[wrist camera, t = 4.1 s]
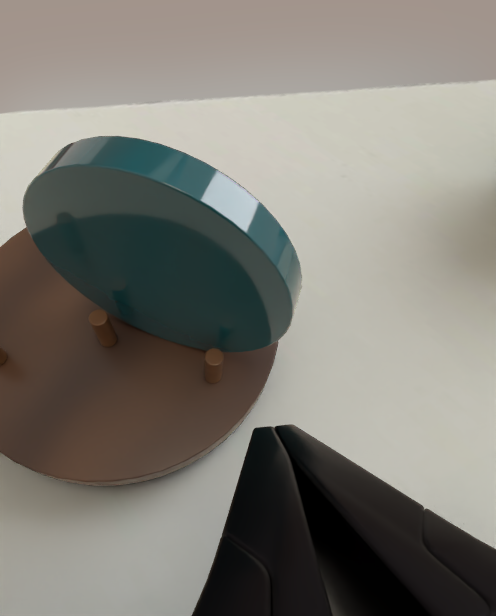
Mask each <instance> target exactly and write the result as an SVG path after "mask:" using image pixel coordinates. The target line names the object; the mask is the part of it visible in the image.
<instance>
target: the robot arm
mask: <svg viewBox="0 0 496 616" xmlns="http://www.w3.org/2000/svg"><path fill="white" fill-rule="evenodd" d="M192 616H496V549H494V548H492V547H491V546H489V545H487V544H485V543H483V542H482V541H480V540H478V539H476V538H475V537H473V536H471V535H470V534H468V533H466V532H465V531H463V530H461V529H460V528H458V527H456V526H455V525H453V524H451V523H450V522H448V521H446V520H445V519H443V518H442V517H440V516H438V515H437V514H435V513H434V512H432V511H430V510H429V509H425V510H424V507H423V506H422V505H421V504H419V503H417V502H416V501H414V500H413V499H411V498H409V497H408V496H406V495H405V494H403V493H401V492H400V491H398V490H397V489H395V488H393V487H392V486H390V485H389V484H387V483H386V482H384V481H382V480H381V479H379V478H378V477H376V476H374V475H373V474H371V473H370V472H368V471H366V470H365V469H363V468H362V467H360V466H358V465H357V464H355V463H354V462H352V461H350V460H349V459H347V458H346V457H344V456H343V455H341V454H339V453H338V452H336V451H335V450H333V449H331V448H330V447H328V446H327V445H325V444H323V443H322V442H320V441H319V440H317V439H315V438H314V437H312V436H311V435H309V434H307V433H306V432H304V431H303V430H301V429H299V428H298V427H296V426H295V425H281V426H276V427H275V428H273V427H260V428H255V429H254V430H253V433H252V436H251V440H250V443H249V446H248V450H247V453H246V456H245V460H244V463H243V466H242V470H241V473H240V476H239V480H238V483H237V486H236V490H235V493H234V496H233V500H232V503H231V506H230V510H229V513H228V516H227V520H226V523H225V526H224V530H223V533H222V537H221V539H220V542H219V545H218V549H217V552H216V555H215V558H214V561H213V564H212V567H211V570H210V573H209V575H208V578H207V581H206V584H205V586H204V588H203V591H202V593H201V595H200V598H199V600H198V602H197V605H196V607H195V609H194V612H193V614H192Z"/></svg>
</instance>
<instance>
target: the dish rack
mask: <svg viewBox="0 0 496 616" xmlns="http://www.w3.org/2000/svg"><path fill="white" fill-rule="evenodd" d="M23 215H24V220H25V223H26V226H27V227H26V228H25V229H23V230H22V231H20V232H19V233H17V234H16V235H15V236H13V237H12V238H10V239H9V240H8V241H7V242H6V243H5V244H3V245H2V246H1V247H0V452H1V453H2V454H4V455H5V456H7V457H8V458H9V459H11V460H12V461H14V462H16V463H18V464H20V465H22V466H25V467H27V468H29V469H31V470H33V471H35V472H38V473H40V474H43V475H45V476H48V477H52V478H55V479H59V480H62V481H66V482H70V483H77V484H84V485H92V486H109V485H124V484H131V483H138V482H143V481H146V480H150V479H154V478H157V477H161V476H164V475H167V474H169V473H171V472H174V471H176V470H178V469H181V468H183V467H185V466H188V465H189V464H191V463H193V462H194V461H196V460H198V459H199V458H201V457H203V456H204V455H206V454H208V453H209V452H210V451H212V450H213V449H214V448H215V447H217V446H218V445H219V444H221V443H222V442H223V441H224V440H226V439H227V437H228V436H229V435H230V434H231V433H232V432H233V431H234V430H235V429H236V428H237V427H238V426H239V425H240V424H241V423H242V422H243V420H244V419H245V418H246V416H247V415H248V414H249V412H250V411H251V410H252V408H253V407H254V405H255V403H256V401H257V400H258V398H259V396H260V394H261V393H262V391H263V388H264V386H265V384H266V381H267V379H268V376H269V373H270V371H271V368H272V366H273V363H274V359H275V355H276V350H277V346H278V340H279V339H280V338H281V337H282V336H283V335H284V334H285V333H286V332H287V330H288V328H289V327H290V325H291V322H292V319H293V315H294V312H295V309H296V305H297V302H298V299H299V295H300V291H301V288H302V274H301V268H300V262H299V260H298V257H297V254H296V251H295V249H294V247H293V245H292V243H291V241H290V239H289V237H288V235H287V234H286V232H285V231H284V230H283V228H282V227H281V226H280V224H279V223H278V221H277V220H276V219H275V218H274V217H273V215H272V214H271V213H270V212H269V211H268V210H267V209H266V208H265V207H264V206H263V204H262V203H260V202H259V201H258V200H257V199H256V198H255V197H254V196H253V195H251V194H250V193H249V192H248V191H247V190H246V189H245V188H243V187H242V186H240V185H239V184H238V183H236V182H235V181H234V180H232V179H231V178H229V177H228V176H227V175H225V174H223V173H222V172H220V171H218V170H217V169H215V168H213V167H212V166H210V165H208V164H207V163H205V162H203V161H201V160H199V159H196V158H194V157H192V156H190V155H188V154H186V153H184V152H181V151H178V150H176V149H173V148H170V147H167V146H165V145H162V144H158V143H154V142H150V141H146V140H142V139H137V138H129V137H121V136H99V137H93V138H87V139H82V140H79V141H77V142H74V143H71V144H69V145H67V146H66V147H64V148H63V149H61V150H60V151H58V152H57V153H56V154H55V155H54V156H53V158H52V159H51V160H50V161H49V162H48V163H47V165H46V166H45V167H44V168H43V169H42V170H41V171H40V173H39V174H38V175H37V176H36V177H35V178H34V180H33V181H32V182H31V183H30V184H29V185H28V187H27V190H26V192H25V194H24V199H23Z"/></svg>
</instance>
